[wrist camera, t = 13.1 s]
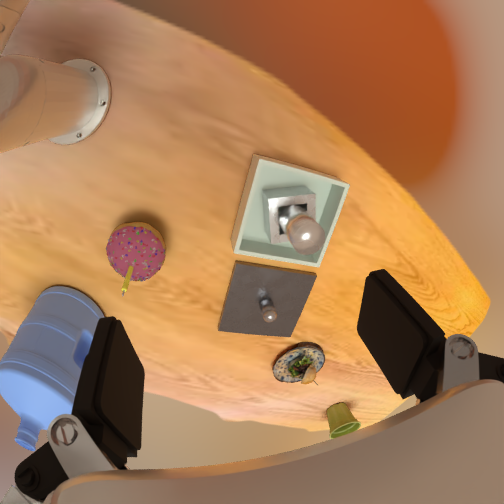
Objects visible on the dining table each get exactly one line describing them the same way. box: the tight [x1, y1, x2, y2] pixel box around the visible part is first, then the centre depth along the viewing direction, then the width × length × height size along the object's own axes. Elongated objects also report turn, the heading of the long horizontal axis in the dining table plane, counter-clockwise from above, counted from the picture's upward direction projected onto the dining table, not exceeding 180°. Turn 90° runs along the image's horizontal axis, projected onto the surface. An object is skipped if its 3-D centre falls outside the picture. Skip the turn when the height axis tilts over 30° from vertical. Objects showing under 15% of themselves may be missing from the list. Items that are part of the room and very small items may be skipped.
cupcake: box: [106, 222, 166, 296], centre depth 36 cm, size 9×8×12 cm
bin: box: [231, 154, 350, 267], centre depth 41 cm, size 13×13×5 cm
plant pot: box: [327, 403, 361, 439], centre depth 69 cm, size 9×9×9 cm
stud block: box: [218, 261, 317, 337], centre depth 48 cm, size 14×14×5 cm
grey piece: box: [262, 185, 325, 255], centre depth 37 cm, size 6×6×11 cm
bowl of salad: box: [273, 342, 325, 384], centre depth 56 cm, size 12×12×8 cm
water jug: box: [0, 286, 105, 451], centre depth 34 cm, size 16×16×28 cm
